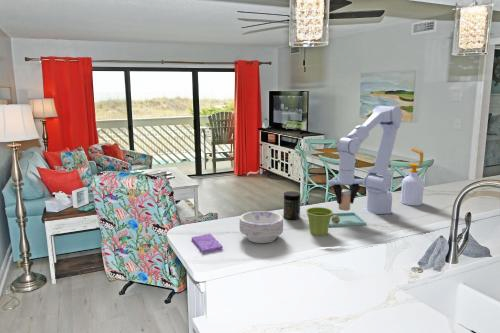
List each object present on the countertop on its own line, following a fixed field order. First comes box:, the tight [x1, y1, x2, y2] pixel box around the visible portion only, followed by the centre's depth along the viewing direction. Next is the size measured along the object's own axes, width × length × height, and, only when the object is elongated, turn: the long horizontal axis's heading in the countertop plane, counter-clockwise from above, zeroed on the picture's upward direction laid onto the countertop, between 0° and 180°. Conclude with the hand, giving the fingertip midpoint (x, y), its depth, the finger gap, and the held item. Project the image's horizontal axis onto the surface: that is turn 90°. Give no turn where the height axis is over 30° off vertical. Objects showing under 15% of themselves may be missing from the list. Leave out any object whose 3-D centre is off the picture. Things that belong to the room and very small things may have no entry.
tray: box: [329, 211, 367, 228], centre depth 151 cm, size 16×12×2 cm
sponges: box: [191, 233, 223, 254], centre depth 131 cm, size 7×13×2 cm, turn 25°
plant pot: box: [305, 206, 334, 237], centre depth 139 cm, size 9×9×9 cm
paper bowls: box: [239, 210, 284, 244], centre depth 135 cm, size 15×15×8 cm
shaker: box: [338, 188, 351, 212], centre depth 151 cm, size 5×5×7 cm
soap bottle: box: [400, 147, 425, 207], centre depth 172 cm, size 9×9×25 cm
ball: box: [331, 215, 340, 223], centre depth 148 cm, size 3×3×3 cm
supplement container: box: [282, 190, 302, 221], centre depth 154 cm, size 7×7×10 cm
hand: (345, 203), depth 151 cm, fingers closed on shaker, 4 cm apart
